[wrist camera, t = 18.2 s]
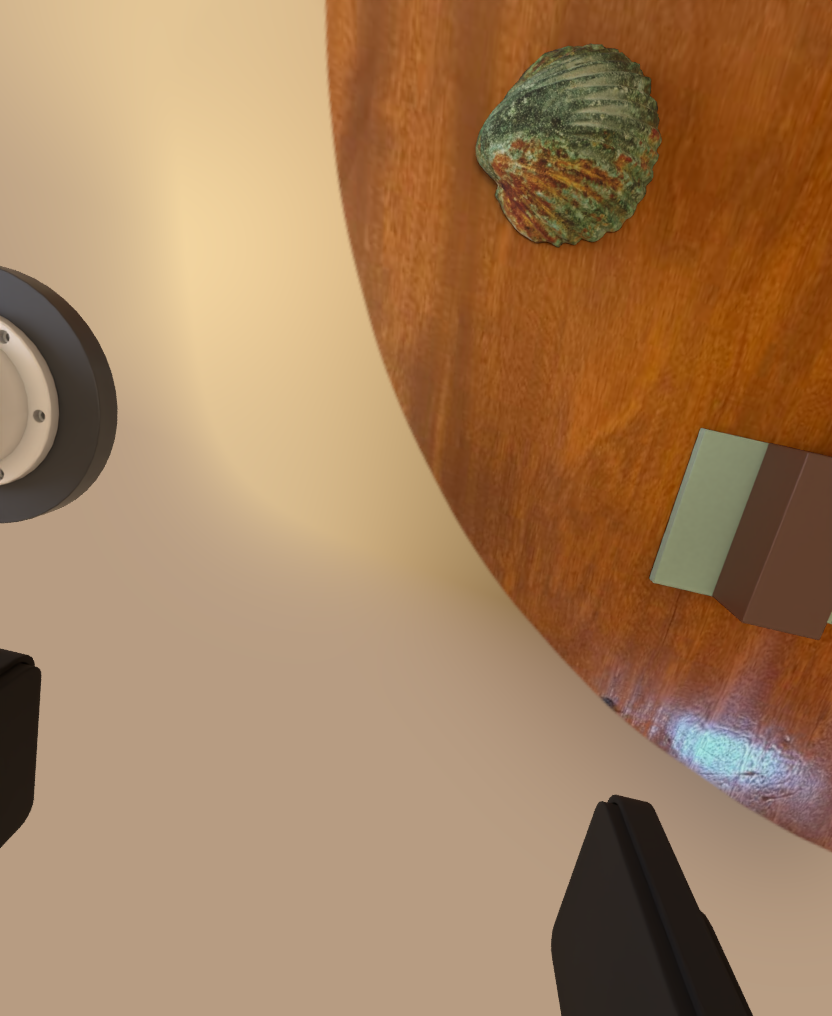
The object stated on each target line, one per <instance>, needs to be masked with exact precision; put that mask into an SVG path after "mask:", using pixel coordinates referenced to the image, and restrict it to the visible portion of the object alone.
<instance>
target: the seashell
mask: <svg viewBox="0 0 832 1016" xmlns="http://www.w3.org/2000/svg"><path fill="white" fill-rule="evenodd" d="M650 93H651V79H650V78H649V77H646V76H643V72H642V70H640V64H638V63H635V62H631V60H630V59H629V58H628V57H626V56H625V55H624V54H623V53H619V51H618V50H617V49H614V48H605V47H604V46H603V45H599V44H588V45H585V46H583V47H581V46H576V47H573V46H567V47H564V48H561V49H557V50H553V51H550V52H547V53H545V54H543V55H542V56H541V57H540V58H539V59H538V60H537V61H536V62H535V63H534V64H532V65H531V66H530V67H529V68H528V69H527V70H526V71H525V72H524V74H523V75H522V76H521V78H520V79H519V81H518V82H517V83H516V84H515V85H514V86H513V87H512V88H511V89H510V90H509V91H508V93H507V95H506V96H505V98H504V100H503V101H502V102H501V103H500V104H499V105H498V106H497V107H496V108H495V109H494V110H493V111H492V113H491V114H490V115H489V117H488V118H487V120H486V121H485V123H484V125H483V127H482V128H481V130H480V132H479V136H478V139H477V144H476V156H477V160H478V162H479V164H480V166H481V167H482V168H483V169H484V171H485V172H486V173H487V174H488V175H489V176H490V177H491V178H492V179H493V180H495V181H496V183H497V184H498V189H497V190H496V194H495V196H496V198H497V200H498V201H499V202H500V204H501V207H502V210H503V212H504V214H505V215H506V217H507V218H508V220H509V221H510V222H511V223H512V225H513V226H514V227H515V229H516V230H517V231H519V232H520V233H521V234H522V235H524V236H526V237H527V238H529V239H530V240H532V241H534V242H536V243H540V242H550V243H552V244H553V245H555V246H556V247H560V246H561V245H562V244H563V243H566V242H567V243H570V244H573V245H575V244H577V243H578V242H579V241H580V240H581V239H585V240H587V241H589V242H595V241H597V240H599V239H600V238H601V237H603V235H604V234H605V233H606V232H608V231H610V232H615V231H617V230H619V229H620V228H621V227H622V224H623V223H624V222H625V220H626V219H628V218H630V217H631V216H632V215H633V214H634V212H635V210H636V206H637V204H638V203H639V202H640V201H641V200H642V199H643V197H644V196H645V194H646V185H647V184H648V183H649V182H651V180H652V178H653V170H652V168H653V166H654V164H655V163H656V162H657V160H658V157H659V154H658V153H657V148H658V147H659V146H660V144H661V141H662V139H661V135H660V133H659V131H658V129H657V128H658V124H659V117H658V114H657V110H658V107H657V102H656V101H655V100H654V99H653V98H652V97H651V96H650Z"/></svg>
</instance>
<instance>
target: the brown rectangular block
mask: <svg viewBox="0 0 832 1016" xmlns="http://www.w3.org/2000/svg"><path fill="white" fill-rule="evenodd" d="M712 596H713V597H714V598H715V599H716V600H717V601H719V602H720V603H721V604H722V605H723V606H724V607H725V608H727V609H728V610H729V611H730V612H731V613H732V614H733V615H734V616H736V617H737V618H738V619H739V620H740V621H741V622H743V623H747V624H751V625H756V626H760V627H764V628H768V629H773V630H777V631H781V632H786V633H790V634H794V635H799V636H803V637H807V638H812V639H816V640H820V638H821V635H822V633H823V631H824V628H825V626H826V624H827V621H828V619H829V617H830V615H831V612H832V457H830V456H826V455H821V454H817V453H812V452H808V451H803V450H799V449H795V448H790V447H786V446H781V445H777V444H773V443H769V445H768V448H767V450H766V453H765V456H764V458H763V461H762V464H761V466H760V469H759V472H758V474H757V477H756V480H755V482H754V485H753V488H752V490H751V493H750V496H749V498H748V501H747V504H746V506H745V509H744V512H743V514H742V517H741V520H740V522H739V525H738V528H737V530H736V533H735V536H734V538H733V541H732V544H731V546H730V549H729V552H728V554H727V557H726V560H725V562H724V565H723V568H722V570H721V573H720V576H719V578H718V581H717V584H716V586H715V589H714V592H713V594H712Z"/></svg>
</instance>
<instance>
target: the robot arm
mask: <svg viewBox="0 0 832 1016" xmlns="http://www.w3.org/2000/svg"><path fill="white" fill-rule="evenodd" d="M58 420H59V404H58V395H57V391H56V387H55V383H54V379H53V377H52V374H51V372H50V370H49V367H48V365H47V363H46V361H45V359H44V358H43V356H42V355H41V353H40V352H39V350H38V349H37V347H36V346H35V344H34V343H33V342H32V341H31V340H30V339H29V338H28V337H27V336H26V335H25V333H24V332H23V331H21V330H20V329H19V328H18V327H16V326H15V325H14V324H13V323H11V322H10V321H9V320H7V319H6V318H4V317H2V316H0V485H3V484H7V483H11V482H13V481H16V480H18V479H21V478H23V477H25V476H26V475H27V474H29V473H30V472H32V471H33V470H35V469H36V468H37V467H38V465H39V464H40V463H41V462H42V461H43V460H44V459H45V458H46V456H47V454H48V452H49V451H50V449H51V447H52V445H53V442H54V439H55V436H56V433H57V429H58ZM40 689H41V671H40V669H39V668H38V667H35V664H34V660H33V658H32V657H30V656H29V655H25V654H21V653H17V652H13V651H8V650H4V649H0V848H1V847H2V846H3V845H4V844H5V842H6V841H7V840H8V839H9V838H10V837H11V836H12V835H13V834H14V833H15V832H16V831H17V830H18V829H19V828H20V827H21V825H22V824H23V823H24V822H25V820H26V818H27V817H28V815H29V813H30V811H31V808H32V805H33V800H34V786H35V770H36V754H37V753H36V752H37V737H38V721H39V705H40ZM551 952H552V960H553V965H554V972H555V979H556V984H557V990H558V997H559V1002H560V1009H561V1016H753V1015H752V1012H751V1010H750V1008H749V1006H748V1004H747V1002H746V999H745V997H744V995H743V993H742V991H741V988H740V986H739V984H738V982H737V980H736V978H735V975H734V973H733V971H732V969H731V967H730V965H729V962H728V960H727V958H726V956H725V954H724V952H723V950H722V947H721V945H720V943H719V941H718V939H717V936H716V934H715V932H714V930H713V927H712V926H711V924H710V922H709V920H708V919H707V917H706V916H705V914H703V913H702V912H701V911H700V910H699V907H698V905H697V903H696V901H695V898H694V896H693V894H692V892H691V890H690V888H689V885H688V883H687V881H686V878H685V876H684V874H683V872H682V870H681V867H680V865H679V863H678V861H677V858H676V856H675V854H674V852H673V850H672V847H671V845H670V843H669V841H668V839H667V836H666V834H665V832H664V830H663V828H662V825H661V823H660V821H659V819H658V816H657V814H656V812H655V810H654V808H653V806H652V805H651V804H650V803H648V802H644V801H640V800H636V799H631V798H627V797H623V796H619V795H612V796H611V797H610V798H609V800H608V802H607V803H606V802H603V801H602V802H599V803H598V804H597V806H596V809H595V811H594V814H593V817H592V820H591V823H590V825H589V828H588V831H587V834H586V837H585V839H584V842H583V845H582V848H581V851H580V853H579V856H578V859H577V862H576V865H575V868H574V871H573V873H572V876H571V879H570V882H569V885H568V887H567V890H566V893H565V896H564V898H563V901H562V904H561V907H560V910H559V913H558V916H557V918H556V921H555V924H554V927H553V931H552V939H551Z"/></svg>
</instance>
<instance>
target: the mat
mask: <svg viewBox="0 0 832 1016" xmlns="http://www.w3.org/2000/svg"><path fill="white" fill-rule="evenodd" d="M768 445H769V443H765V442H761V441H756V440H752V439H748V438H743V437H739V436H734V435H730V434H725V433H721V432H717V431H712V430H708V429H703V428H701V429H700V431H699V434H698V437H697V440H696V443H695V446H694V449H693V452H692V455H691V458H690V461H689V464H688V466H687V469H686V472H685V475H684V478H683V481H682V484H681V487H680V490H679V493H678V496H677V499H676V502H675V504H674V507H673V510H672V513H671V516H670V519H669V522H668V525H667V528H666V531H665V534H664V537H663V539H662V542H661V545H660V548H659V551H658V554H657V557H656V560H655V563H654V566H653V569H652V572H651V575H650V577H649V579H650V580H651V581H652V582H653V583H657V584H661V585H666V586H670V587H674V588H679V589H683V590H687V591H692V592H696V593H700V594H704V595H709V596H712V594H713V592H714V589H715V586H716V584H717V581H718V578H719V576H720V573H721V570H722V568H723V565H724V562H725V560H726V557H727V554H728V552H729V549H730V546H731V544H732V541H733V538H734V536H735V533H736V530H737V528H738V525H739V522H740V520H741V517H742V514H743V512H744V509H745V506H746V504H747V501H748V498H749V496H750V493H751V490H752V488H753V485H754V482H755V480H756V477H757V474H758V472H759V469H760V466H761V464H762V461H763V458H764V456H765V453H766V450H767V448H768ZM827 623H830V624H832V612H831V615H830V617H829V619H828V621H827Z"/></svg>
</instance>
